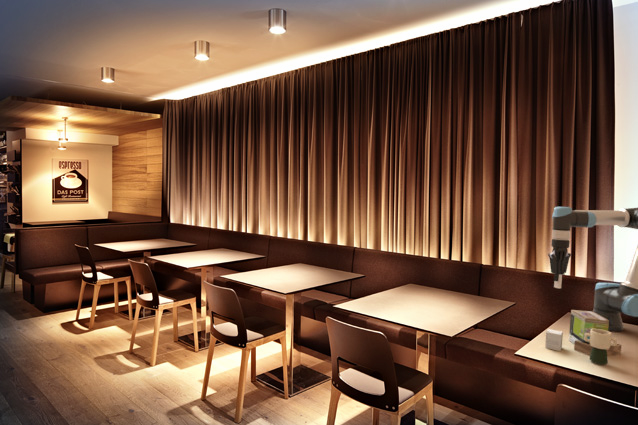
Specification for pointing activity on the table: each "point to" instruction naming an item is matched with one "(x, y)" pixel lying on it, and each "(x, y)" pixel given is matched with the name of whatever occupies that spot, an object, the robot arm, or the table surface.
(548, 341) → the skincare box
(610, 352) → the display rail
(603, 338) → the character mug
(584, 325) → the tea box
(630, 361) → the table surface
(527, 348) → the table surface
